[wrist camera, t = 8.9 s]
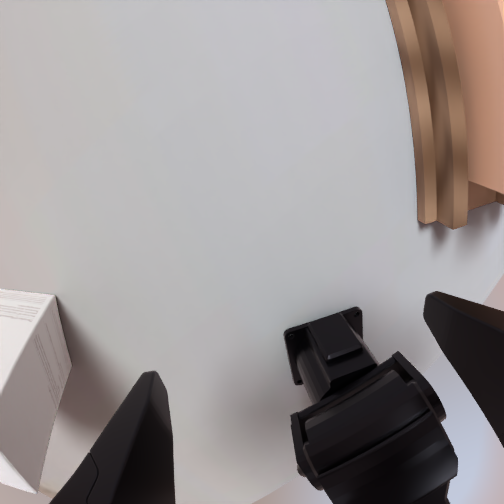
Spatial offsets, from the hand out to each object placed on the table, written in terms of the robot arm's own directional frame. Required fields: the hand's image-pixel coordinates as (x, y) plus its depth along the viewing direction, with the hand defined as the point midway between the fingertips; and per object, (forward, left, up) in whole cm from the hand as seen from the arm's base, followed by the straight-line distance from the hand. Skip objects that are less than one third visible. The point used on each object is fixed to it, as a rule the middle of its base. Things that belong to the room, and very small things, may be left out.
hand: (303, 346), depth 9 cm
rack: (+8, -19, -12) cm, 24 cm away
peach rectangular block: (+8, -19, -11) cm, 23 cm away
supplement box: (-3, +19, -12) cm, 23 cm away
